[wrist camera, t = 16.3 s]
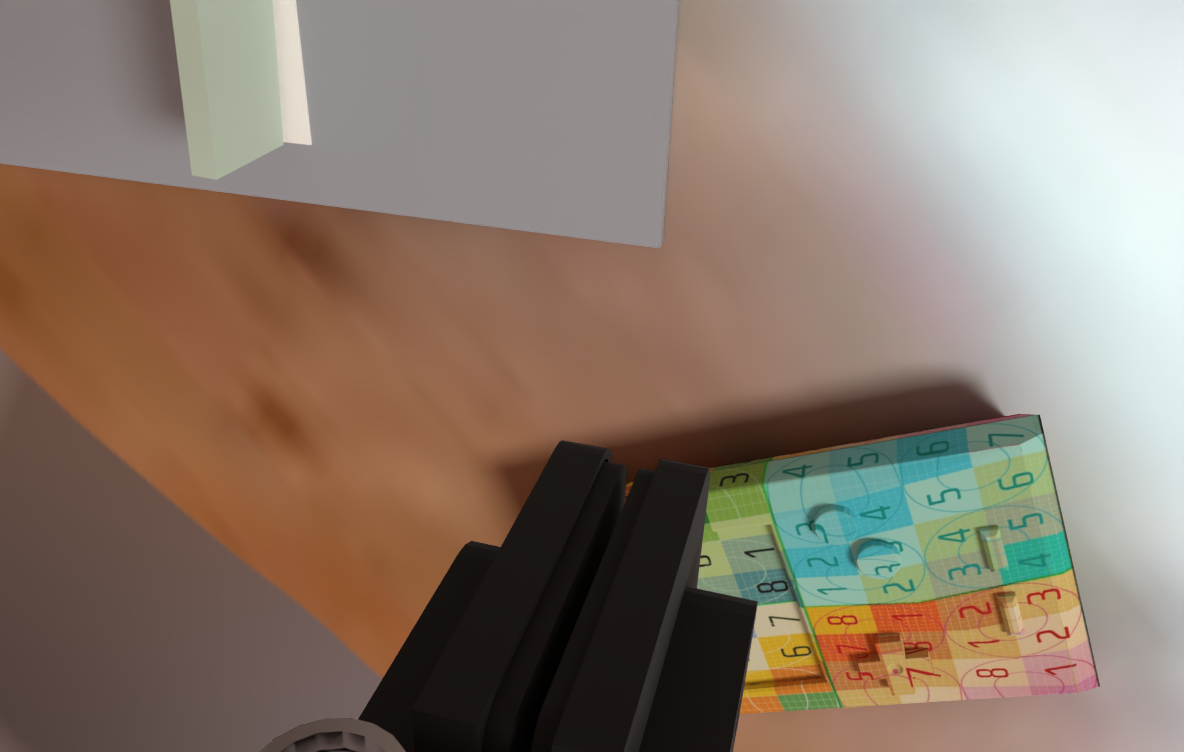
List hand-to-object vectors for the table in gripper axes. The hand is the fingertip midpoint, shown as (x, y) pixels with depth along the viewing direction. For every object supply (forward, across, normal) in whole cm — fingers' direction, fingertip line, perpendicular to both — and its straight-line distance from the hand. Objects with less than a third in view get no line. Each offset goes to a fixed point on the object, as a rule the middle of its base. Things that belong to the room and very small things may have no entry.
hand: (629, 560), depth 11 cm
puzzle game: (+28, -3, +20) cm, 34 cm away
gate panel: (+26, +20, -2) cm, 33 cm away
